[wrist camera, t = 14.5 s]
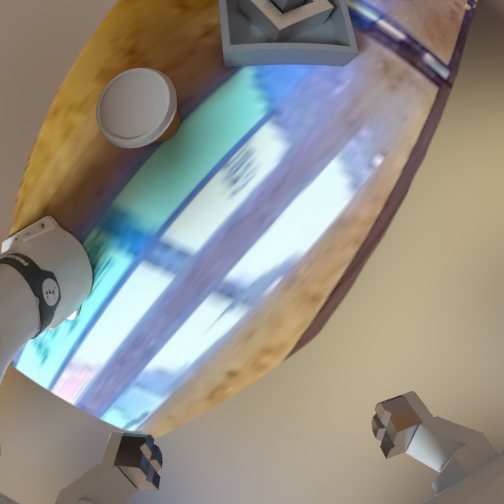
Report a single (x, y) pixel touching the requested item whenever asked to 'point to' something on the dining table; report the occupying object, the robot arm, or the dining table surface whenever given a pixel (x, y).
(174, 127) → the disposable coffee cup
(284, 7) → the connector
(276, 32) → the inlet socket
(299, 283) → the dining table surface
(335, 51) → the walled box
